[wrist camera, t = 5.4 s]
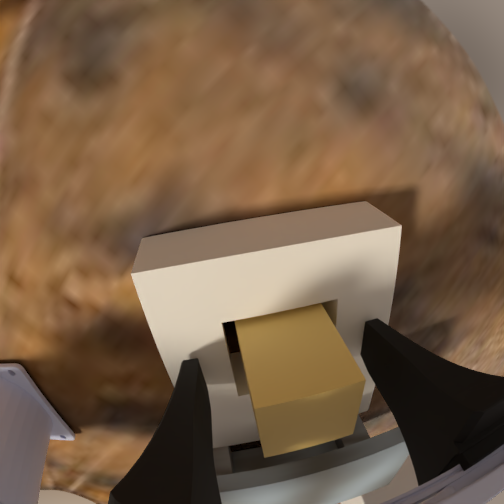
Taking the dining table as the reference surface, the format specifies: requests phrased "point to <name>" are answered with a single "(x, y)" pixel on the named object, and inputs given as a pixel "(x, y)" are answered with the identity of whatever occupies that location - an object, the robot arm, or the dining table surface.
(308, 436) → the peg
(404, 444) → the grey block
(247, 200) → the dining table surface
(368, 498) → the milk carton
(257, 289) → the socket
